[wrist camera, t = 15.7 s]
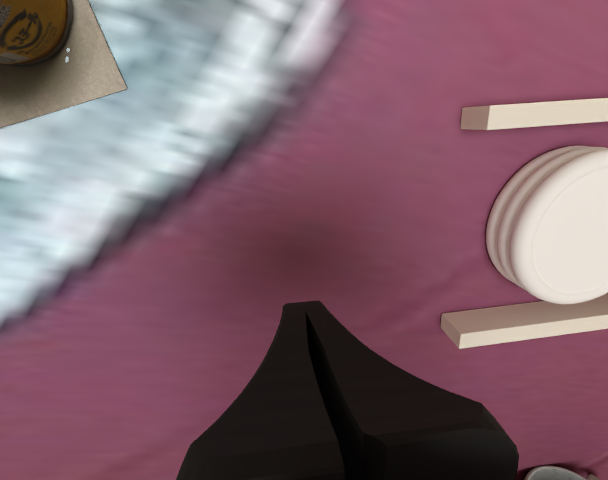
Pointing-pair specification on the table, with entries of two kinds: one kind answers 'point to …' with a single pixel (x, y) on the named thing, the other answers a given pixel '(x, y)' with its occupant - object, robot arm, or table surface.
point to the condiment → (51, 58)
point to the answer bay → (538, 315)
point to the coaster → (554, 226)
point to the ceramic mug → (555, 474)
